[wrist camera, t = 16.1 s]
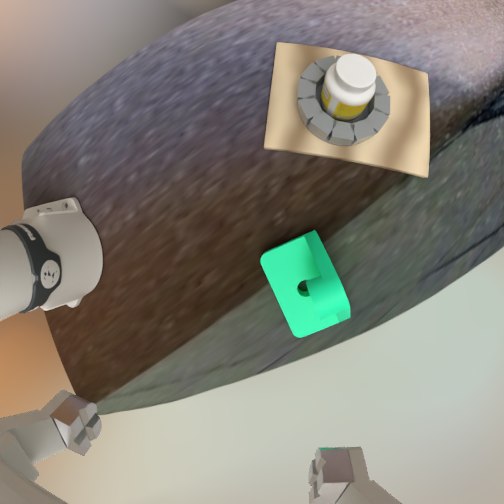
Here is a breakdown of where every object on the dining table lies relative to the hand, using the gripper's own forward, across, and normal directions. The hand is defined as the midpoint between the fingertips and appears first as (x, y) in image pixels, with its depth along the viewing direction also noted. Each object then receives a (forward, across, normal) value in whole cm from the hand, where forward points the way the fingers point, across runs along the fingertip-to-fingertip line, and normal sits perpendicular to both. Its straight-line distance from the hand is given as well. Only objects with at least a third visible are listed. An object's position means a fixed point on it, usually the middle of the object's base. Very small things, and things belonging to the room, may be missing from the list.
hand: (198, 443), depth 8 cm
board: (+31, -10, -22) cm, 39 cm away
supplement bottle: (+29, -8, -21) cm, 36 cm away
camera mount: (+30, -6, +3) cm, 31 cm away
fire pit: (+30, -8, -21) cm, 37 cm away
